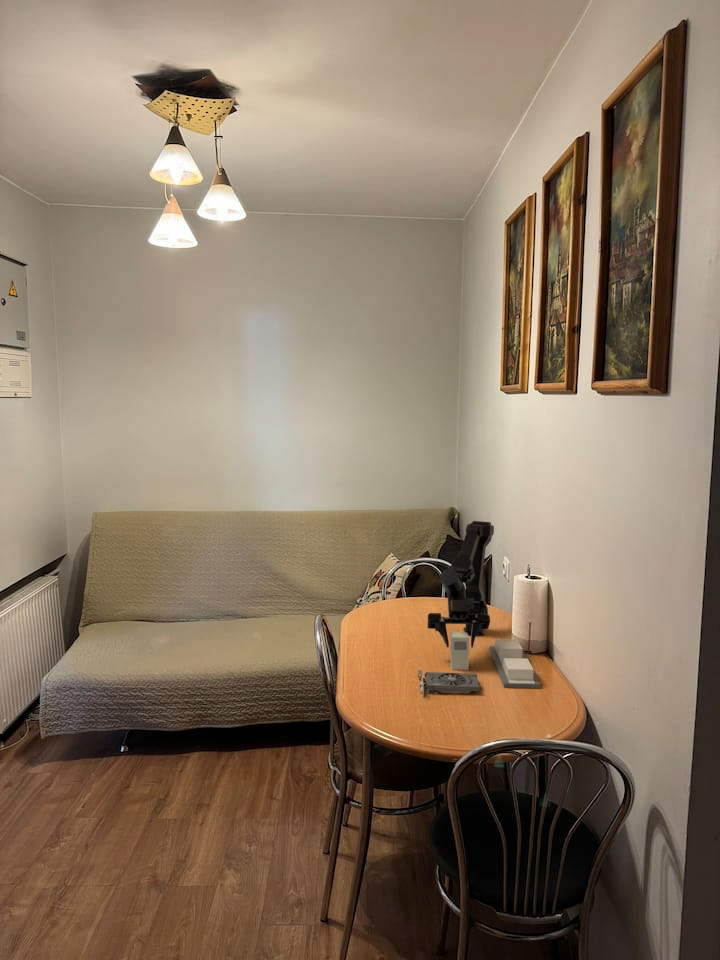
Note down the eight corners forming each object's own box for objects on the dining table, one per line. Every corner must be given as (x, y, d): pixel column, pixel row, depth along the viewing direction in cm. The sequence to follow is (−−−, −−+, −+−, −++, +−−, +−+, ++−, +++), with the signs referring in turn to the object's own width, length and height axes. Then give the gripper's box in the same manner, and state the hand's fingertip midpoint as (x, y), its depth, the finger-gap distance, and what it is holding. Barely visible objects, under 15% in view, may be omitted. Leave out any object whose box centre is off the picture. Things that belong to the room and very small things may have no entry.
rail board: (489, 649, 203) (489, 636, 202) (520, 650, 202) (520, 637, 202) (504, 687, 175) (504, 672, 174) (540, 688, 174) (540, 673, 174)
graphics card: (419, 687, 168) (418, 668, 180) (419, 700, 169) (417, 680, 181) (482, 689, 167) (477, 670, 179) (482, 702, 168) (476, 682, 180)
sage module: (450, 663, 192) (450, 632, 191) (466, 663, 191) (467, 632, 190) (451, 670, 187) (452, 637, 186) (468, 670, 187) (469, 637, 186)
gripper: (428, 587, 191) (429, 635, 182) (489, 588, 190) (494, 636, 180) (426, 604, 200) (428, 651, 190) (485, 605, 199) (490, 652, 189)
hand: (460, 647), depth 187 cm, fingers open, 7 cm apart
